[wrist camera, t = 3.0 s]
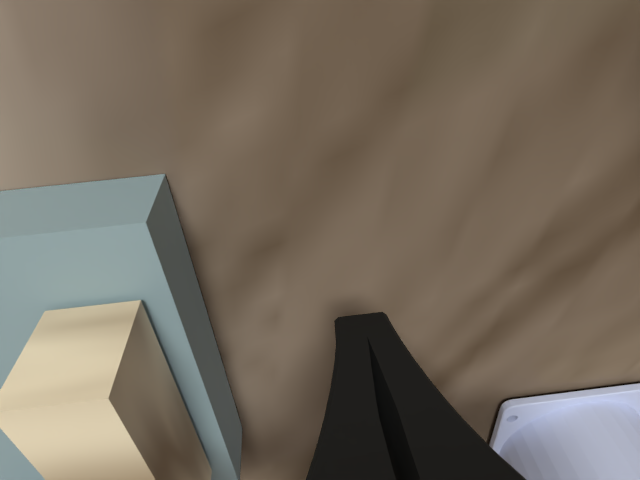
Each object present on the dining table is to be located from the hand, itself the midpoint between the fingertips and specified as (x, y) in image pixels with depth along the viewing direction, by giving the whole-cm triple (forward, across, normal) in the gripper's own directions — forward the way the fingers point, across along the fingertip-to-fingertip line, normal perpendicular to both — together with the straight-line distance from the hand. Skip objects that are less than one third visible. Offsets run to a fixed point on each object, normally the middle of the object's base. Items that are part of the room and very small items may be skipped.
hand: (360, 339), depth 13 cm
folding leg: (+1, +7, +3) cm, 8 cm away
